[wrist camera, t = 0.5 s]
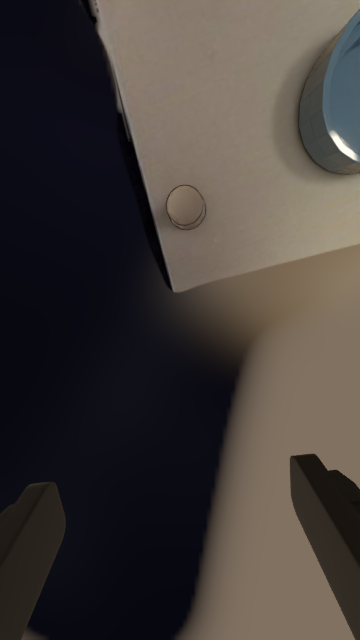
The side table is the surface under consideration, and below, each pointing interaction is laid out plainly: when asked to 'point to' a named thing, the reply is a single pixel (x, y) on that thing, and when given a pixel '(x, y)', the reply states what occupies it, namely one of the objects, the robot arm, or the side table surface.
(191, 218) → the brown wooden peg
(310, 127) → the bowl
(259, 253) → the side table surface
